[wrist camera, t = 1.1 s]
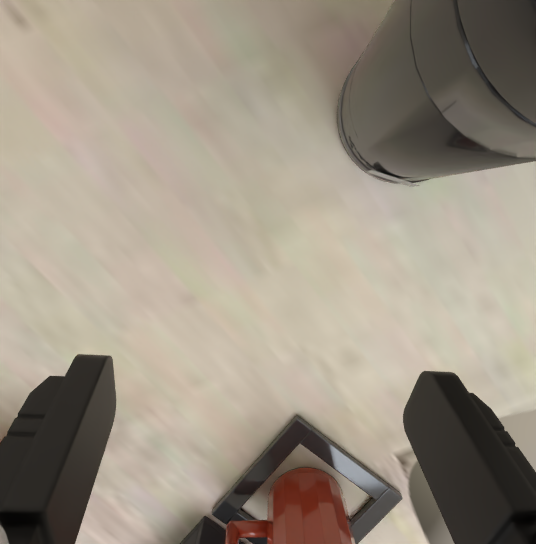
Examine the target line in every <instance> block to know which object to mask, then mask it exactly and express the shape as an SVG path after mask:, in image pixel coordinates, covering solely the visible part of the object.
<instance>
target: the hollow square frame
mask: <svg viewBox="0 0 536 544" xmlns="http://www.w3.org/2000/svg"><path fill="white" fill-rule="evenodd" d="M299 443H301V444H302V445H303V446H305V447H306V448H307V449H309V450H310V451H311V452H313V453H314V454H315V455H317V456H318V457H319V458H321V459H322V460H323V461H325V462H326V463H327V464H329V465H330V466H331V467H333V468H334V469H335V470H337V471H338V472H339V473H341V474H342V475H343V476H345V477H346V478H347V479H349V480H350V481H351V482H353V483H354V484H355V485H357V486H358V487H359V488H361V489H362V490H363V491H365V492H366V493H367V494H369V495H370V496H372V497H373V498H372V499H371V500H370V501H369V502H368V503H367V504H366V505H365V506H364V507H363V508H362V509H361V510H360V511H359V512H358V513H357V514H356V515H355V516H354V517H353V518H352V519H351V520H350V524H351V528H352V532H353V536H354V540H355V544H358V543H359V542H360V541H361V540H362V539H363V538H364V537H365V536H366V535H367V534H368V533H369V532H370V531H371V530H372V529H373V528H374V527H375V526H376V525H377V524H378V523H379V522H380V521H381V520H382V519H383V518H384V517H385V516H386V515H387V514H388V513H389V512H390V511H391V510H392V509H393V508H394V507H395V506H396V505H397V504H398V503H399V502H400V501H401V500H402V496H401V493H400V492H398V491H397V490H396V489H394V488H393V487H392V486H390V485H389V484H388V483H386V482H385V481H384V480H382V479H381V478H380V477H378V476H377V475H376V474H374V473H373V472H372V471H370V470H369V469H368V468H366V467H365V466H364V465H362V464H361V463H360V462H358V461H357V460H356V459H354V458H353V457H352V456H350V455H349V454H348V453H346V452H345V451H344V450H342V449H341V448H340V447H339V446H337V445H336V444H335V443H333V442H332V441H331V440H329V439H328V438H327V437H325V436H324V435H323V434H321V433H320V432H319V431H317V430H316V429H315V428H313V427H312V426H311V425H309V424H308V423H307V422H305V421H304V420H303V419H301V418H300V417H299V416H297V415H296V416H295V417H294V419H293V420H292V421H291V422H290V423H289V424H288V425H287V426H286V428H285V429H284V430H283V431H282V432H281V433H280V434H279V435H278V436H277V438H276V439H275V440H274V441H273V442H272V443H271V444H270V445H269V447H268V448H267V449H266V450H265V451H264V452H263V453H262V454H261V455H260V457H259V458H258V459H257V460H256V461H255V462H254V463H253V464H252V466H251V467H250V468H249V469H248V470H247V471H246V472H245V473H244V475H243V476H242V477H241V478H240V479H239V480H238V481H237V482H236V483H235V485H234V486H233V487H232V488H231V489H230V490H229V491H228V492H227V494H226V495H225V496H224V497H223V498H222V499H221V500H220V501H219V502H218V504H217V505H216V506H215V507H214V508H213V510H212V515H213V516H215V517H216V518H218V519H219V520H221V521H222V522H223V523H225V524H226V525H227V524H228V523H229V522H230V521H232V520H255V519H254V518H252V517H251V516H249V515H248V514H247V513H245V512H244V511H242V510H241V509H240V508H241V507H242V506H243V505H244V504H245V502H246V501H247V500H248V499H249V498H250V497H251V496H252V495H253V494H254V493H255V491H256V490H257V489H258V488H259V487H260V486H261V485H262V484H263V483H264V482H265V480H266V479H267V478H268V477H269V476H270V475H271V474H272V473H273V472H274V471H275V469H276V468H277V467H278V466H279V465H280V464H281V463H282V462H283V461H284V460H285V458H286V457H287V456H288V455H289V454H290V453H291V452H292V451H293V450H294V449H295V447H296V446H297V445H298V444H299ZM246 539H248V540H249V541H250V542H252V543H253V544H267V538H246Z"/></svg>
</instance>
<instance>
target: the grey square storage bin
mask: <svg viewBox="0 0 536 544" xmlns="http://www.w3.org/2000/svg"><path fill="white" fill-rule="evenodd" d="M225 532H226V530H224V529H223V528H221V527H220V526H219V525H217V524H216V523H214V522H213V521H211V520H210V519H209V518H207V517H206V516H204V518H203V519H202V520H201V521H200V522H199V523H198V524H197V525H196V526H195V528H194V529H193V530H192V531H191V532H190V533H189V534H188V535H187V537H186V538H185V539H184V540H183V541H182V542H181V543H180V544H224V538H225ZM239 544H244V543H243V542H241V541H240V540H239Z"/></svg>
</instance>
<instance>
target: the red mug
mask: <svg viewBox="0 0 536 544" xmlns="http://www.w3.org/2000/svg"><path fill="white" fill-rule="evenodd" d="M240 538H267V544H355V540H354V536H353V532H352V528H351V524H350V519H349V515H348V511H347V507H346V503H345V499H344V497H343V493H342V490H341V488H340V486H339V484H338V483H337V482H336V480H335V479H334V478H333V477H331V476H330V475H329V474H327V473H326V472H324V471H321V470H318V469H315V468H297V469H293V470H290V471H288V472H286V473H285V474H283V475H282V476H280V477H279V478H278V479H277V480H276V481H275V483H274V484H273V486H272V487H271V489H270V492H269V497H268V518H267V520H232V521H230V522H229V523H228V524H227V526H226V532H225V538H224V544H239V539H240Z"/></svg>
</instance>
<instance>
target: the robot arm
mask: <svg viewBox="0 0 536 544" xmlns="http://www.w3.org/2000/svg"><path fill="white" fill-rule="evenodd" d="M337 122H338V129H339V134H340V137H341V140H342V143H343V145H344V148H345V149H346V151H347V153H348V154H349V156H350V157H351V159H352V160H353V161H354V162H355V163H356V164H357V165H358V166H359V167H360V168H361V169H362V170H363V171H365V172H366V173H368V174H369V175H371V176H373V177H375V178H377V179H379V180H382V181H386V182H390V183H398V184H405V185H408V186H418V185H417V184H414V183H415V182H421V181H424V180H428V179H430V178H438V177H444V176H450V175H456V174H462V173H468V172H474V171H479V170H485V169H491V168H497V167H503V166H509V165H515V164H521V163H527V162H533V161H536V0H394V2H393V4H392V5H391V7H390V9H389V10H388V12H387V14H386V15H385V17H384V19H383V21H382V22H381V24H380V26H379V27H378V29H377V31H376V32H375V34H374V36H373V37H372V39H371V41H370V42H369V44H368V46H367V48H366V49H365V51H364V52H363V54H362V56H361V57H360V59H359V60H358V61H357V62H356V64H355V65H354V67H353V68H352V70H351V71H350V73H349V75H348V77H347V78H346V80H345V82H344V85H343V87H342V90H341V93H340V97H339V101H338V108H337ZM115 410H116V391H115V380H114V369H113V360H112V357H111V356H105V355H83V354H78V355H77V356H76V357H75V358H74V360H73V362H72V364H71V366H70V368H69V370H68V372H67V373H66V375H65V377H64V376H49V377H48V378H47V379H46V380H45V381H44V382H42V383H41V384H40V385H39V386H38V387H37V388H35V389H34V390H33V391H32V392H31V393H30V394H29V396H28V398H27V399H26V401H25V403H24V404H23V406H22V408H21V410H20V411H19V413H18V417H17V418H15V420H14V422H13V423H12V425H11V427H10V428H9V430H8V434H7V436H5V437H4V439H3V440H2V442H1V444H0V544H75V542H76V538H77V535H78V532H79V529H80V526H81V523H82V520H83V516H84V513H85V510H86V507H87V504H88V501H89V498H90V494H91V491H92V488H93V485H94V482H95V479H96V476H97V472H98V469H99V466H100V463H101V460H102V457H103V454H104V451H105V447H106V444H107V441H108V438H109V435H110V432H111V429H112V425H113V422H114V417H115ZM403 423H404V429H405V432H406V435H407V437H408V439H409V441H410V444H411V446H412V448H413V450H414V453H415V455H416V457H417V460H418V462H419V464H420V466H421V469H422V471H423V473H424V475H425V478H426V480H427V482H428V484H429V487H430V489H431V491H432V494H433V496H434V498H435V500H436V503H437V505H438V507H439V509H440V512H441V514H442V516H443V518H444V521H445V523H446V525H447V528H448V530H449V532H450V534H451V536H452V539H453V541H454V543H455V544H536V472H535V470H534V469H533V468H532V466H531V465H530V463H529V462H528V461H527V459H526V458H525V456H524V455H523V453H522V452H521V451H520V449H519V448H518V447H516V446H515V442H514V441H513V439H512V438H511V436H510V435H509V434H508V432H507V431H505V430H504V426H503V425H502V424H501V422H500V421H499V419H498V418H497V416H496V415H495V414H494V412H493V411H492V409H491V408H489V407H488V406H487V405H486V404H485V403H484V402H483V401H481V400H480V399H479V398H478V397H477V396H476V395H475V394H474V393H469V392H468V391H467V389H466V388H465V386H464V385H463V383H462V382H461V380H460V379H459V377H458V376H457V375H456V374H454V373H452V372H435V371H424V372H422V373H421V374H420V376H419V378H418V380H417V382H416V385H415V387H414V389H413V391H412V393H411V396H410V398H409V400H408V402H407V404H406V407H405V409H404V414H403Z"/></svg>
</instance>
